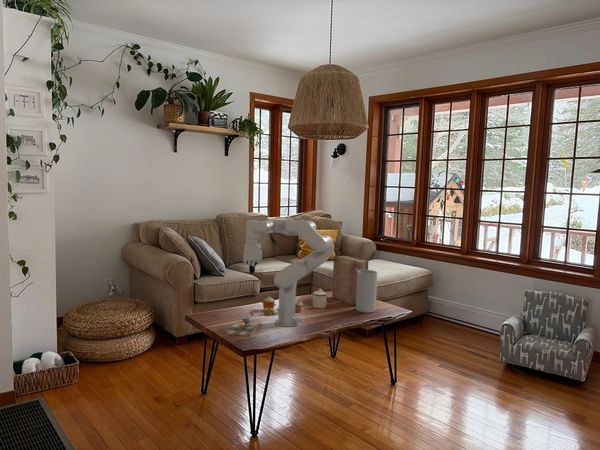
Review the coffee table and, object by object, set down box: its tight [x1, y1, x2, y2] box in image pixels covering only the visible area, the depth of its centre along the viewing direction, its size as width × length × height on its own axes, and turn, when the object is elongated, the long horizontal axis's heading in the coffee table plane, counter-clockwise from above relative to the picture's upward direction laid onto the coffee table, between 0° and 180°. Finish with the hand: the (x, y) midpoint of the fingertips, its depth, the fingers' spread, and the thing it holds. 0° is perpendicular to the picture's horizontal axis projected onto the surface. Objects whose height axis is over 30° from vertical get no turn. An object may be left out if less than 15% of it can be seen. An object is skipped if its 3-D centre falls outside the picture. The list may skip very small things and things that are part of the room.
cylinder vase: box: [355, 269, 378, 314], centre depth 295 cm, size 12×12×25 cm
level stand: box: [225, 320, 263, 337], centre depth 250 cm, size 14×18×2 cm
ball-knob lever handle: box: [239, 311, 254, 328], centre depth 255 cm, size 23×6×4 cm, turn 172°
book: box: [332, 254, 369, 307], centre depth 316 cm, size 25×9×30 cm, turn 35°
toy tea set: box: [260, 295, 303, 316], centre depth 287 cm, size 26×16×10 cm, turn 109°
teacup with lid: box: [310, 288, 328, 309], centre depth 301 cm, size 12×9×12 cm
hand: (252, 272), depth 268 cm, fingers closed
